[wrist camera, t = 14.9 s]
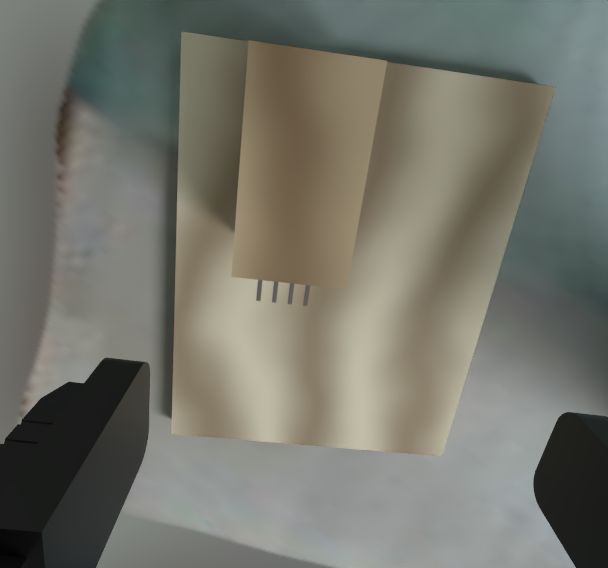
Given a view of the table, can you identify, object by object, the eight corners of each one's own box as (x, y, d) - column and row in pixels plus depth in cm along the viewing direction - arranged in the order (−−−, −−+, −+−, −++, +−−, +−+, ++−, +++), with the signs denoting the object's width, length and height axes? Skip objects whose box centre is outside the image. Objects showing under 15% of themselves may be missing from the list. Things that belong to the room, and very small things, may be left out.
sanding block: (364, 70, 21) (387, 60, 16) (335, 250, 25) (346, 289, 19) (258, 55, 21) (248, 40, 16) (243, 240, 24) (231, 276, 19)
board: (542, 87, 23) (555, 86, 22) (436, 443, 31) (442, 456, 30) (186, 35, 22) (181, 31, 20) (175, 421, 30) (171, 434, 29)
